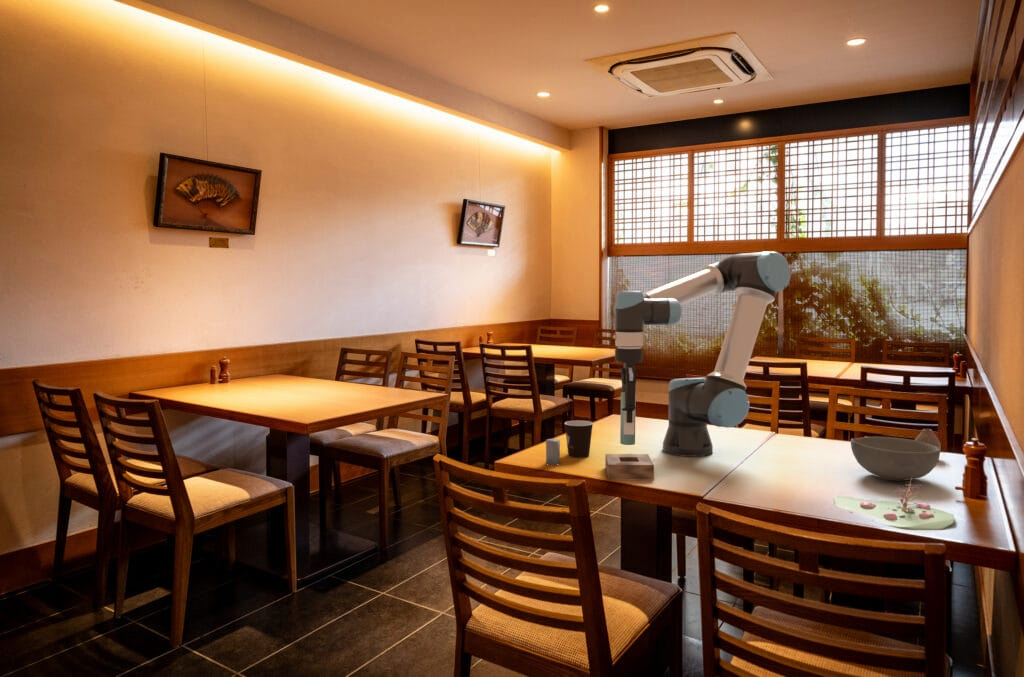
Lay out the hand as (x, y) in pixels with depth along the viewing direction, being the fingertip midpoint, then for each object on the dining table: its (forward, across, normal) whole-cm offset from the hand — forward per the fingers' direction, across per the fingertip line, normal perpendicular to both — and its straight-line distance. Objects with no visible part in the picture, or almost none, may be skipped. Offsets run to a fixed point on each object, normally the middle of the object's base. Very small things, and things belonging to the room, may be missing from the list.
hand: (627, 432), depth 185 cm
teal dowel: (+3, 0, 0) cm, 3 cm away
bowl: (+11, +3, +69) cm, 70 cm away
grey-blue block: (+12, -10, -21) cm, 26 cm away
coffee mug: (+12, -22, -13) cm, 28 cm away
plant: (+12, +30, +56) cm, 64 cm away
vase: (+11, -19, +89) cm, 92 cm away
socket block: (+12, 0, 0) cm, 12 cm away
